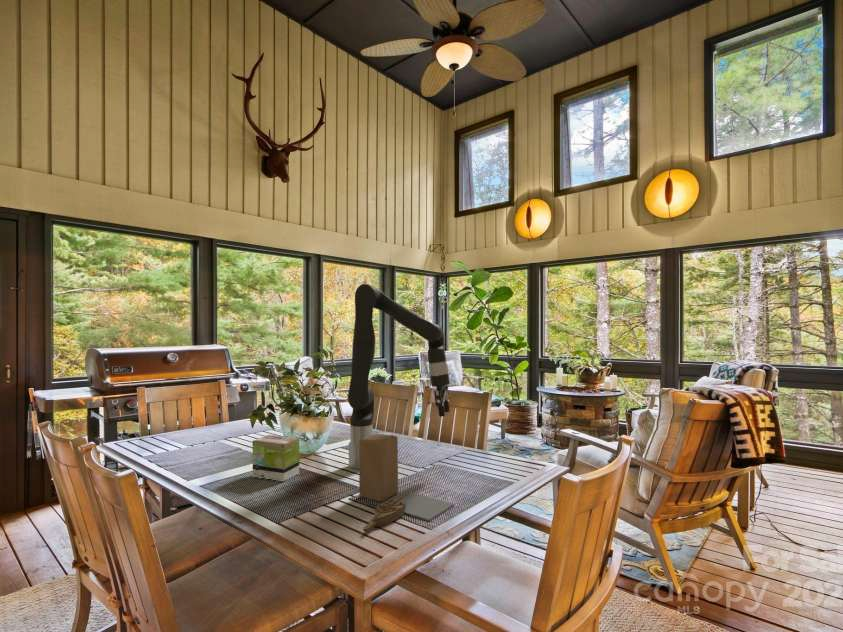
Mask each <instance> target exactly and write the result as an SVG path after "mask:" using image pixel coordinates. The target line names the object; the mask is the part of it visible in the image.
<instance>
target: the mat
mask: <svg viewBox="0 0 843 632" xmlns="http://www.w3.org/2000/svg"><path fill="white" fill-rule="evenodd" d="M400 497H404V498H405V497H406V509H405V511H404V513H403V515H406V516H410V517H413V518H417V519H419V520H423V521H426V522H431V521H433V520H435V519H436V518H438V517H439V516H440V515H442V514H444V513H446V512H447V511H448V510H450V509H452V508H453V507H455V503H452V502H449V501H445V500H441V499H437V498H434V497H430V496H426V495H423V494H422V495H421V494H419V493H415V492H410V491H407V490H404V491H402V492H401V493H399V494H398V493H397V494H395V495H393V496H392V497H390V498H388V499H386V500H384V501H382V502H380V503H379V504H378V505H380V504H381V503H383V502H384V503H385V501H388V500H391V499H395V498H400Z"/></svg>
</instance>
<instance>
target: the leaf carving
mask: <svg viewBox="0 0 843 632" xmlns="http://www.w3.org/2000/svg"><path fill="white" fill-rule="evenodd" d="M387 500H388V499H387ZM384 501H385V503H384ZM384 501H382V502H383V503H382V502H380V503H381V504H380V503H379V504H380V505H379V504H378V505H377V506H376V508H375V510H374V514H373V519H372V520H371V521H370V522H368V523H367V524H366V525H364V527H362V528H363V529H362V531H363V532H365V533H368V532H369V531H371V530H372V529H373V528H375V527H381V526H384V525H386V524H389V523H392V522H394V521H396V520H397V519H400V518H401V517H402V516H403V515H404V514H403V513H404V511H405V509H406V497H405V498H404V497H400V498H395V499H391V500H388V501H386V500H384Z"/></svg>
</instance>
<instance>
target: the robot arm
mask: <svg viewBox="0 0 843 632" xmlns="http://www.w3.org/2000/svg"><path fill="white" fill-rule="evenodd" d="M374 309H375V310H379V311H381V312H383V313H384V314H386V315H388V316H390V317H391V318H392V319H393V320H395V321H396V322H397V323H399V324H401V326H404V327H406V328H407V329H409V330H410V331H413V332H415V333H416V334H417V335H418V336H420V337H421V338H423V339H425V341H427V346H428V348H427V360H428V371H429V379H430V380H429V381H430V385H431V387H434V388H435V390H433V395H434V403H435V407H437V410H438V417H445V415H446V413H449V412H450V405H449V404H450V399H451V398H450V391H449V385H450V384H451V382H450V375H449V367H448V363H447V359H446V352H445V351H446V350H445V335H444V330H443V328H442V326H441V325H439V324H438V323H437V324H436V323H432V322H430V321H429V320H427V319H425V318H424V317H423V316H421V314H419V313H417V312H416V311H413V310H412V309H410V308H408V307H405V306H404V305H402V304H400V303H398V302H397V301H394V300H393V299H392V298H390V297H389V296H387V294H385V293H384V292H383V291H381V290H380V289H379V288H378V287H377V286H376V285H373V284H369V283H363V284H360V285H359V286H358V287H356V289H355V293H354V313H355V314H354V315H355V316H354V325H353V326H354V328H353V338H352V353H351V355H352V356H351V371H350V372H351V374H350V382H349V387H348V393H347V402H348V404H349V406H350V407H351V408H352V413H351V415H350V419H349V420H350V422H349V424H350V427H349V430H350V431H349V432H350V441H349V442H348V466H350V467H351V468H352V469H355V470H359V440H360V439H361V438H364V437H367V436H370V435H373V434H374V433H373V432H374V430H373V429H374V428H373V426H374V425H373V424H374V422H373V420H374V415H375V394H374V391H373V388H371V387H370V386H369V377H370V371H371V369H372V365H373V363H374V362H373V361H374V359H375V354H376V353H375V352H376V332H375V328H374V321H373V314H374Z"/></svg>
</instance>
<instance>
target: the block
mask: <svg viewBox="0 0 843 632" xmlns="http://www.w3.org/2000/svg"><path fill="white" fill-rule="evenodd" d="M398 442H399V441H398V436H396V435H391V434H384V433H377V432H376V433H373V435H370V436H367V437H364V438H361V439H360V440H359V469H358V473H359V476H358V477H359V479H358V481H359V485H358V487H359V496H360V498H365V499H368V500H372V501H376V502H380V503H382V502H384V501H386V500H388V499H390V498H392V497H394V496H396V495H398V492H399V466H398V465H399V458H398V457H399V449H398V448H399V447H398Z"/></svg>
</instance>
